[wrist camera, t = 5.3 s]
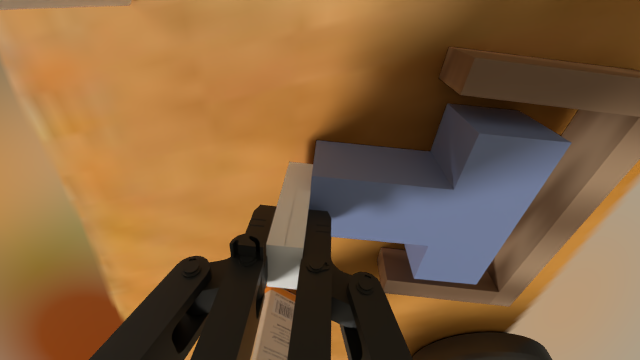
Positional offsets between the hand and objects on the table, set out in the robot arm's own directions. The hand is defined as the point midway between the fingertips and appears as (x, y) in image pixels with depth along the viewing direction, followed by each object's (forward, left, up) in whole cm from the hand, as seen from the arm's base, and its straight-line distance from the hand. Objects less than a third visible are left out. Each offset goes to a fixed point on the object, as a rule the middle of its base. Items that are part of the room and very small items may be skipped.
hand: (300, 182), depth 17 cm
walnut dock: (0, -11, -1) cm, 11 cm away
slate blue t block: (0, -6, -1) cm, 6 cm away
